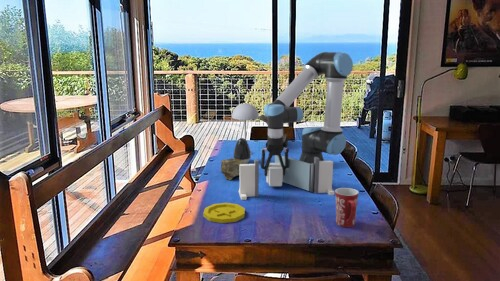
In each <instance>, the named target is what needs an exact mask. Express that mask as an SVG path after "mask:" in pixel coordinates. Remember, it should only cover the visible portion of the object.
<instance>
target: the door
mask: <svg viewBox="0 0 500 281" xmlns="http://www.w3.org/2000/svg"><path fill="white" fill-rule="evenodd" d="M281 156H282V160H283V163H284V166H285V155H282V154H281ZM274 163H280V160H279V157H278V156H277V155H274ZM288 163H289V168H286V169H285V175H283V182H282V183H285V184H289V185H290V186H294V187H297V188H299V189H301V190H302V189H303V190H306V191H307V192H310V193H314V192H313V186H314V163H311V164H309V163H306V162H302V161H299V160H298V159H295V158H292V157H289V156H288ZM280 165H281V164H280Z"/></svg>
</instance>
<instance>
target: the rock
mask: <svg viewBox="0 0 500 281" xmlns="http://www.w3.org/2000/svg"><path fill="white" fill-rule="evenodd" d="M220 164H221V166H220V172H221V174H222V175H224V177H225V179H226V180H227V181H232V180H233V179H234V178H235V177H238V176H240V164H248V163H246V162H242V160H240V159H234V158H231V157H230V158H228V159H225V158H224V159H222V160H221V163H220Z"/></svg>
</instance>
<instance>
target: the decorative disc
mask: <svg viewBox="0 0 500 281" xmlns="http://www.w3.org/2000/svg"><path fill="white" fill-rule="evenodd" d="M245 215H246V208H245V207H244V206H242V205H240V204H237V203H232V202H231V203H230V202H222V203H213V204H211V205H209V206H207V207H205V208H204V211H203V217H204V218H205V219H206V220H207V221H209V222H213V223H220V224H226V223H227V224H229V223H235V222H238V221H240V220H242V219H244V218H245Z"/></svg>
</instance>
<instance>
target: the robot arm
mask: <svg viewBox="0 0 500 281" xmlns="http://www.w3.org/2000/svg"><path fill="white" fill-rule="evenodd" d="M353 66H354V63H353V59H352V57H351V56H350V55H349V54H348V53H345V52H340V51H337V52H336V51H335V52H333V51H332V52H331V51H329V52H328V51H324V52H320V53H317V54H316V55H315V56H313V57H312V58H310V59H309V61H307V62H306V63H305V64H304V65H303V68H302V70H301V72H299V74H298V75H297V76H296V77H295V78H293V80H292V82H290V83H289V85H288V86H287V87H286V88H285V89H284V90H283V91H282V93H280V95H278V97H277V98H276V99H275V100H274V101H273V102H272V103H267V104H266V105H265V106H264V107H263V115H265V116H266V117H268V124H267V141H268V145H267V147H266V146H265V148H261V149H260V151H261V161H260V168H261V169H262V170H264V173H263V174H264V176H265V177H266V183H267V184H269V169H268V167H269V164H270V163H271V160H272V158H273V157H275V155H277V156H278V157H279V160H280V164H281V167H282V183H284V182H283V175H285V169H286V168H289V163H288V157H289V152H290V149H289V148H288V147H286V148H284V147H283V137H282V136H283V133H284V124H289V123H297V122H301V121H302V119H303V118H304V110H303V109H302V107H300V106H291V105H292V104H293V103H294V101H295V100H296V99H297V98H298V97H299V96H300V95H301V93H303V91H305V89H306V88H307V87H308V86H309V85H310V84H311V82H313V80H316V79H317V78H319V76H321V75H324V79H325V80H326V96H325V105H324V106H325V107H324V118H323V119H324V121H323V126H307V127H304V128H303V129H302V133H301V134H302V135H301V154H300V157H299V161H302V162H306V163H309V164H311V163H314V157H318V158H319V161H325V159H324V156H323V153H325V154H328V155H333V156H337V155H340V154H341V153H342V152H343V151H344V149H345V148H346V146H347V138H346V136H345V134H343V131H344V130H343V129H342V128H341V120H342V117H341V116H342V109H343V95H344V83H345V81H347V79H348V76H350V75H351V73H352V71H353V68H354V67H353ZM267 152H268V156H267V158H266V153H267ZM282 152H284V156H285V166H284V163H283V160H282V156H283V155H282ZM281 155H282V156H281Z"/></svg>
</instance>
